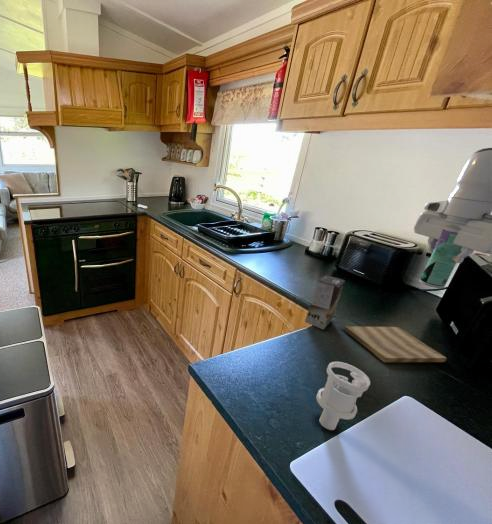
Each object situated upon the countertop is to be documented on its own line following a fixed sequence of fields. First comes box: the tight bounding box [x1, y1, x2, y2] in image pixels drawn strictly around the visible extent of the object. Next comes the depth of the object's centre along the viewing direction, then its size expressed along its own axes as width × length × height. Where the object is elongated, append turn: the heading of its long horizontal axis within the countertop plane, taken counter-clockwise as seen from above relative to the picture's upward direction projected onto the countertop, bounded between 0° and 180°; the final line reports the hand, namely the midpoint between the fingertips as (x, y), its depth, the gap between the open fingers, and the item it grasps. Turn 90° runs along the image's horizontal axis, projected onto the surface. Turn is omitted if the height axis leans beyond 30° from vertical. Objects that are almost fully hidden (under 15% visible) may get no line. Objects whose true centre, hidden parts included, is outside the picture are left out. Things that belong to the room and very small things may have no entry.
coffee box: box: [304, 274, 346, 330], centre depth 99 cm, size 9×6×16 cm
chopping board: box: [343, 325, 448, 363], centre depth 92 cm, size 20×16×2 cm
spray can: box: [419, 225, 463, 289], centre depth 83 cm, size 6×6×20 cm
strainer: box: [315, 361, 371, 431], centre depth 60 cm, size 7×7×15 cm
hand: (443, 257), depth 83 cm, fingers closed on spray can, 5 cm apart
